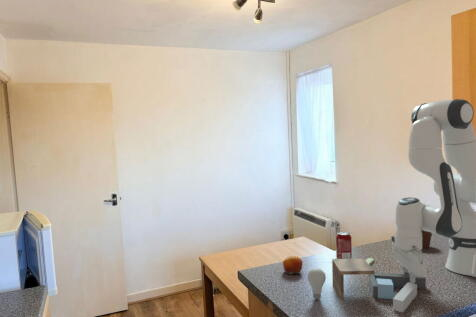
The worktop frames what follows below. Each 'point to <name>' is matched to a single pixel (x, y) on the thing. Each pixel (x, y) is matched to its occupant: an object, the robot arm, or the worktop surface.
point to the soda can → (343, 245)
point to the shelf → (347, 272)
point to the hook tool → (394, 281)
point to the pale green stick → (369, 261)
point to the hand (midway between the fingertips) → (408, 279)
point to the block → (385, 288)
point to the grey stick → (404, 297)
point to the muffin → (426, 239)
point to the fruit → (292, 265)
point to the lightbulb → (316, 281)
